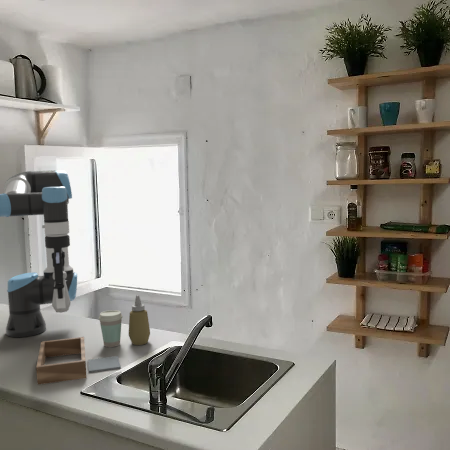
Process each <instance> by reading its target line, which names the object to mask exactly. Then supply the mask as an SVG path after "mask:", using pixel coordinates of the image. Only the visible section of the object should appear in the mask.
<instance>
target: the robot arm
mask: <svg viewBox="0 0 450 450" xmlns="http://www.w3.org/2000/svg"><path fill="white" fill-rule="evenodd" d="M3 192H4V193H0V217H2V218H4V217H5V218H9V217H21V216H22V217H23V216H43V225H42V226H41V228H42V229H44V243H45V253H46V268H45V269H44V270H43V275H39V274H38V273H37V272H33V271H32V272H26V273H21V274H18V275H15V276H13V277H10V278H9V279H8V280H7V289H6V292H7V297H8V298H7V300H8V312H9V316H8V320H7V323H6V327H5V335H6V336H8V337H10V338H25V337H26V338H27V337H33V336H37V335H40V334H42V333H43V332H45V331H46V330H47V323H46V320H45V318H44V315H43V313H42V312H41V306H42V305H49V304H51V305H52V301H53V293H54V289H55V290H56V305H57V309H59V308H66V305H65V289H64V281H63V271H64V272H66V274H67V277H66V278H65V281H66V285H67V289H68V293H69V298H70V302H72V301H74V300H75V299H76V297H77V290H78V288H77V287H78V273H77V272H74V268H73V267H72V266H70V260H69V246H71V243H70V242H71V241H70V240H71V239H70V235H69V233H70V222H69V211H68V209H69V208H68V207H69V206H68V204H69V203H70V200H71V199H73V193H72V188H71V182H70V178H69V175H68V172H66V171H65V170H36V171H35V170H34V171H33V170H30V171H28V170H27V171H23V172H22V171H21V172H19V173H16V174H14V175H12V176H11V177H9V178H8V179H7V180H6V181H5V183H4V185H3ZM53 273H55V280H54V279H53ZM54 285H55V287H54Z"/></svg>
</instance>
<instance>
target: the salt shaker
mask: <svg viewBox="0 0 450 450" xmlns="http://www.w3.org/2000/svg"><path fill="white" fill-rule="evenodd" d="M66 277H67V274H66V272H64V271H63V281H64V289H65V305H66V308H59V309H57V305H56V290H55V289H54V293H53V301H52V303H51V306H52V308H53V310H54V312H55V313H60V314H61V313H66V312H68V311H69V309H70V306H71V302H72V301H70V298H69V293H68V289H67V285H66V281H65V278H66ZM53 279H54V280H55V273H53ZM54 287H55V285H54Z"/></svg>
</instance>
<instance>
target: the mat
mask: <svg viewBox="0 0 450 450" xmlns="http://www.w3.org/2000/svg"><path fill="white" fill-rule="evenodd" d="M87 364H88V365H87V367H88V373H97V372H104V371H113V370H118V369H119V370H120V369H121V362H120V359H119V355H114V356H113V355H112V356H107V357H98V358H92V359H91V358H90V359H87Z"/></svg>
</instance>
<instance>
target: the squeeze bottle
mask: <svg viewBox="0 0 450 450" xmlns="http://www.w3.org/2000/svg"><path fill="white" fill-rule="evenodd" d="M149 322H150V321H149V315H148V311H147V310H146V309H145V304H144V303H142V300H141V297H140V295H139V294H138V295H136V296H135V300H134V304H132V305H131V311H130V312H129V321H128V338H129V340H130V342H131V344H132V345H134V346H143V345H146V344H148V342H149V339H150V336H151V328H150V323H149Z"/></svg>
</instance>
